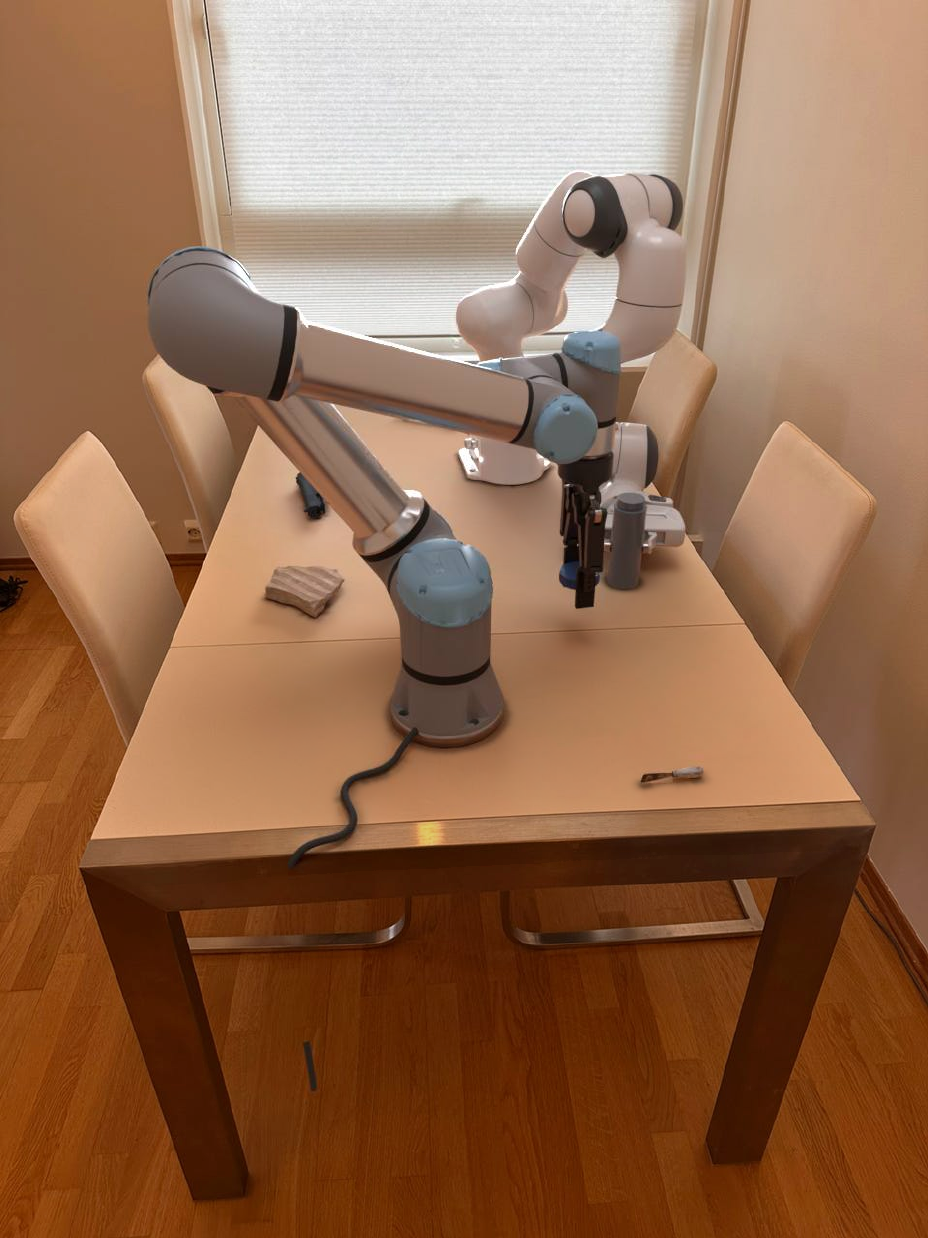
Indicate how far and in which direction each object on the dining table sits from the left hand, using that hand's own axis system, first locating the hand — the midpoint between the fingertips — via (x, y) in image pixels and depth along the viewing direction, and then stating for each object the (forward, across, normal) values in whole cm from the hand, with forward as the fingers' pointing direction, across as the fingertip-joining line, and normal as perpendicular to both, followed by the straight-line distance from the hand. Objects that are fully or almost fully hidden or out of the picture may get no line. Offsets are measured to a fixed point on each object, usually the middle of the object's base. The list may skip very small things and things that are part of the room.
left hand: (577, 595), depth 134 cm
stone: (+6, +19, +41) cm, 45 cm away
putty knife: (+7, -34, -2) cm, 35 cm away
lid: (-4, 0, 0) cm, 4 cm away
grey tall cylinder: (+7, +14, -12) cm, 20 cm away
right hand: (0, +13, -12) cm, 18 cm away
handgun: (+6, +58, +34) cm, 67 cm away
